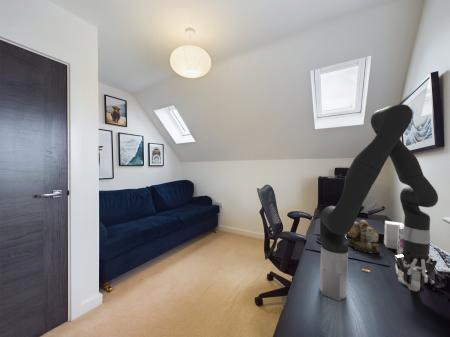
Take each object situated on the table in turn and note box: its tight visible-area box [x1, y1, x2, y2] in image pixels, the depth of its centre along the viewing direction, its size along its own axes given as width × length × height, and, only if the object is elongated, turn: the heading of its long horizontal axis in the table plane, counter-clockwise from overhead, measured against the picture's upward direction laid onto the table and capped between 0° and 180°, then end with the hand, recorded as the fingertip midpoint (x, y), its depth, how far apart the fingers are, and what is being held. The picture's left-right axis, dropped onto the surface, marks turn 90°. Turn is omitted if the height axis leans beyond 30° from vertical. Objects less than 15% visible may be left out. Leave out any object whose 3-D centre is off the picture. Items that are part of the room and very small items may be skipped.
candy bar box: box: [396, 225, 404, 260], centre depth 112 cm, size 11×5×16 cm, turn 141°
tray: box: [394, 264, 429, 284], centre depth 92 cm, size 10×10×3 cm
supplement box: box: [383, 220, 404, 250], centre depth 125 cm, size 9×9×15 cm
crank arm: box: [401, 268, 421, 293], centre depth 81 cm, size 15×5×8 cm, turn 143°
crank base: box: [361, 268, 408, 287], centre depth 89 cm, size 20×7×2 cm, turn 53°
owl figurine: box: [345, 219, 380, 254], centre depth 121 cm, size 18×12×17 cm, turn 34°
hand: (413, 283), depth 76 cm, fingers closed on crank arm, 3 cm apart
